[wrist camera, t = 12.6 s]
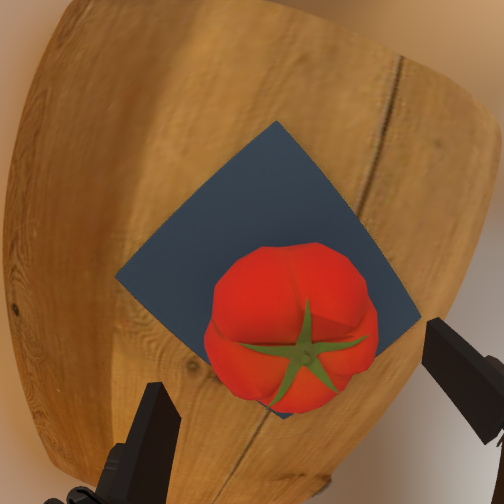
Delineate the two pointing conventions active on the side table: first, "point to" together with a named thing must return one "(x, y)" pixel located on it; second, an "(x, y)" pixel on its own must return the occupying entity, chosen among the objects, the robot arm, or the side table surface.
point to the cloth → (256, 240)
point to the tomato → (291, 327)
